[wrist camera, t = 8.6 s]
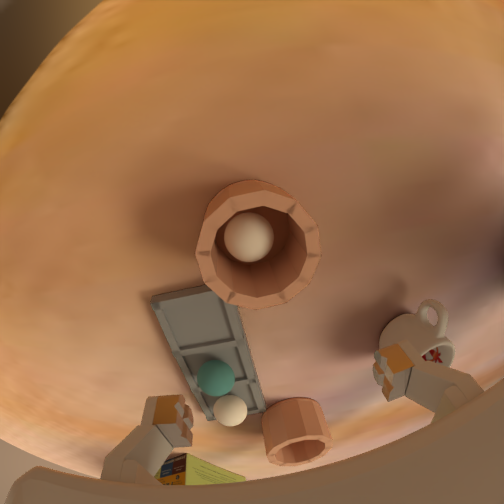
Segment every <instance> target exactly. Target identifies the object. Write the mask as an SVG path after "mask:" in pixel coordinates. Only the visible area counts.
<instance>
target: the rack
mask: <svg viewBox="0 0 504 504" xmlns="http://www.w3.org/2000/svg"><path fill="white" fill-rule="evenodd" d="M150 304H151V307H152V309H153V311H155V314H156V316H157V318H158V321H159V323H160V325H161V328H162V330H163V332H164V334H165V337H166V339H167V341H168V343H169V345H170V347H171V350H172V354H173V356H174V357H175V358H176V360H177V362H178V364H179V366H180V368H181V370H182V372H183V374H184V376H185V378H186V380H187V382H188V384H189V386H190V390H191V391H192V393H193V394H194V395H195V397H196V399H197V401H198V403H199V405H200V406H201V408H202V410H203V412H204V414H205V415H206V419H207V420H208V421H211V420H217V419H216V418H215V416H214V413H213V408H214V404H215V402H216V401H217V400H218V399H219V398H220V397H222V396H225V395H235V396H238V397H240V398H241V399H242V400H243V401H244V402H245V404H246V406H247V415H250V414H256V413H261V412H266V403H265V400H264V396H263V393H262V390H261V387H260V383H259V380H258V376H257V373H256V370H255V366H254V363H253V359H252V356H251V353H250V349H249V346H248V342H247V339H246V335H245V332H244V328H243V324H242V321H241V317H240V314H239V310H238V306H237V305H233V304H229V303H226V302H225V301H224V300H223V299H221V298H220V297H219V296H218V295H217V294H216V293H215V292H214V291H212V290H211V289H210V288H209V287H208V286H207V285H203V286H198V287H194V288H189V289H184V290H180V291H175V292H170V293H165V294H161V295H156V296H152V299H151V303H150ZM211 360H220V361H223V362H225V363H227V364H228V365H229V366H230V367H231V368H232V370H233V372H234V375H235V383H234V386H233V388H232V389H231V390H230V391H229V392H228V393H227V394H225V395H222V396H211V395H208V394H206V393H205V392H203V391H202V390H201V388H200V387H199V385H198V382H197V373H198V370H199V369H200V367H201V366H202V365H203V364H204V363H206V362H208V361H211Z"/></svg>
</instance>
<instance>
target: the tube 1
mask: <svg viewBox="0 0 504 504" xmlns="http://www.w3.org/2000/svg"><path fill="white" fill-rule="evenodd" d="M246 212H252V213H257V214H259V215H261V216H263V217H264V218H265V219H266V220H267V221H268V222H269V223H270V225H271V227H272V229H273V233H274V241H273V245H272V248H271V250H270V251H269V253H268V254H267V255H266V256H265V257H263V258H262V259H260V260H257V261H254V262H244V261H241V260H238V259H236V258H235V257H234V256H232V255H231V254H230V252H229V251H228V250H227V248H226V245H225V241H224V233H225V229H226V227H227V225H228V223H229V222H230V221H231V220H232V219H233V218H234V217H235V216H237V215H239V214H241V213H246ZM195 255H196V258H197V262H198V265H199V268H200V272H201V275H202V278H203V281H204V283H205V284H206V285H207V286H208V287H209V288H210V289H211V290H212V291H214V292H215V293H216V294H217V295H218V296H219V297H220V298H221V299H223V300H224V301H225V302H226V303H229V304H233V305H237V306H241V307H245V308H250V309H254V310H258V309H262V308H267V307H271V306H275V305H280V304H284V303H287V302H288V301H289V300H290V299H291V298H293V297H294V296H295V295H296V294H298V293H299V292H300V291H301V290H303V289H304V288H305V287H306V286H307V285H309V284H310V282H311V279H312V277H313V275H314V272H315V270H316V268H317V265H318V263H319V261H320V258H321V256H322V255H321V247H320V239H319V231H318V225H317V224H316V223H315V221H314V220H313V219H312V218H311V217H310V215H309V214H308V213H307V212H306V211H305V209H304V208H303V207H302V206H301V205H300V203H299V202H298V201H297V200H296V199H295V198H293V197H292V196H291V195H289V194H288V193H287V192H285V191H284V190H283V189H281V188H279V187H276V186H274V185H273V184H270V183H268V182H264V181H259V180H245V181H240V182H236V183H233V184H231V185H228V186H227V187H226V188H224V189H223V190H221V191H220V192H219V193H218V194H217V195H216V196H215V197H214V198H213V199H212V201H211V202H210V203H209V204H208V208H207V210H206V213H205V216H204V220H203V225H202V228H201V232H200V235H199V239H198V243H197V247H196V251H195Z"/></svg>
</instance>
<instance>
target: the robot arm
mask: <svg viewBox="0 0 504 504" xmlns="http://www.w3.org/2000/svg"><path fill="white" fill-rule="evenodd" d="M374 358H375V360H376V362H375V363H374V364H373V374H374V378H375V380H376V382H377V384H378V385H380V386H383V387H382V393H383V394H384V396H385V398H386V399H387V401H388V402H389V401H392V400H394V399H397V398H399V397H402V396H404V395H405V396H406V397H407V398H409V399H411V400H413V401H415V402H416V403H418V404H420V405H422V406H424V407H425V408H427V409H429V410H431V411H433V412H434V413H435V415H434V417H433V419H432V422H431V424H429V425H427V426H425V427H423V428H421V429H419V430H417V431H415V432H413V433H411V434H409V435H407V436H405V437H402V438H400V439H398V440H395V441H393V442H391V443H388V444H386V445H383V446H381V447H378V448H376V449H373V450H370V451H368V452H365V453H362V454H359V455H356V456H353V457H350V458H347V459H344V460H341V461H338V462H334V463H331V464H327V465H324V466H320V467H316V468H312V469H308V470H304V471H300V472H295V473H291V474H286V475H281V476H275V477H270V478H264V479H257V480H250V481H242V482H233V483H222V484H207V485H162V484H161V483H160V482H159V481H158V480H157V479H156V478H155V477H154V476H155V474H156V473H157V472H158V470H159V469H160V467H161V466H162V465H163V463H164V462H165V460H166V459H167V457H168V456H169V455H170V453H171V452H172V450H173V449H174V448H176V447H189V446H192V437H193V434H192V432H191V431H190V429H191V428H192V427H193V415H192V411H191V409H190V407H189V406H188V405H186V404H185V398H184V397H183V395H166V396H152V397H148V398H147V399H146V403H145V408H144V412H143V417H142V421H141V425H138V426H137V427H136V428H135V429H134V430H133V431H132V432H131V433H130V434H129V435H128V436H127V437H126V438H125V439H124V440H123V441H122V442H121V443H120V444H119V445H118V446H116V447H115V448H114V449H113V450H112V451H111V452H110V453H109V454H108V455H107V456H106V458H105V462H104V466H103V470H102V474H101V478H100V479H95V478H89V477H84V476H79V475H74V474H69V473H65V472H60V471H57V470H53V469H49V468H46V467H42V466H36V467H34V468H32V469H30V470H29V471H28V472H26V473H25V474H24V475H22V476H21V477H19V478H18V479H17V480H16V481H15V482H14V483H13V485H12V487H11V489H10V491H9V493H8V496H7V498H6V501H5V503H4V504H504V378H503V379H501V380H500V381H499V382H497V383H496V384H495V385H493V386H492V387H490V388H489V389H488V390H486V391H485V392H484V390H483V389H482V388H481V387H480V386H479V384H478V383H477V382H476V381H475V380H474V378H473V377H472V376H471V375H470V374H467V373H464V372H461V371H458V370H455V369H452V368H449V367H446V366H443V365H440V364H437V363H434V362H432V361H429V360H427V361H425V360H424V359H423V358H422V357H421V355H420V354H419V353H418V352H417V351H416V349H415V348H414V347H413V346H412V345H411V343H410V342H409V341H408V340H403V341H401V342H398V343H396V344H392V345H390V346H387V347H384V348H382V349H379V350H376V351H375V353H374Z"/></svg>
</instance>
